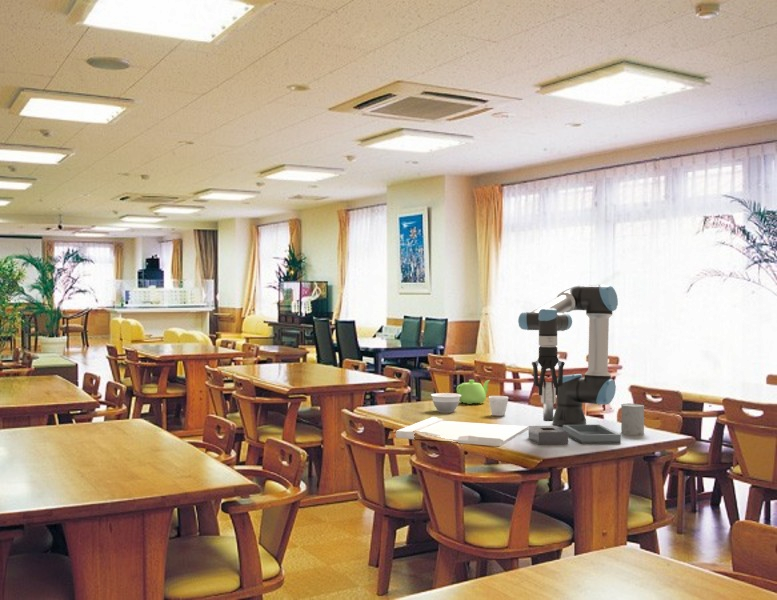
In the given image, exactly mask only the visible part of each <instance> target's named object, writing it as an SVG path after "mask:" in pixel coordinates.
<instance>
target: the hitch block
mask: <svg viewBox="0 0 777 600" xmlns="http://www.w3.org/2000/svg"><path fill="white" fill-rule="evenodd" d="M528 439H530V440H531V441H532V442H533V443H535V444H537V445H538V446H550V445H551V446H554V445H555V446H557V445H558V446H560V445H569V436H568V432H567V431H565V430H564V429H563V427H560V426H559V425H528Z"/></svg>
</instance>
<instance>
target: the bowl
mask: <svg viewBox="0 0 777 600" xmlns="http://www.w3.org/2000/svg"><path fill="white" fill-rule="evenodd" d="M430 396H431V398H432V402H433V405H434V407H435V409H436V410H437V412H438V413H445V414H447V413H448V414H449V413H454V412H455V410H456V409H457V407H458V406H459V404H460V401H459V398H460V397H461V395H460V394H458V393H453V392H451V393H450V392H449V393H448V392H445V393H444V392H441V393H440V392H436V393H431V394H430Z"/></svg>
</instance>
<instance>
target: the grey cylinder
mask: <svg viewBox="0 0 777 600" xmlns="http://www.w3.org/2000/svg"><path fill="white" fill-rule="evenodd" d="M620 406H621V407H620V408H621V423H620V424H621V426H620V427H621V431H620V432H621V434H622V435H626V436H643V434H644V435H645V405H644V404H640V403H622V404H620Z"/></svg>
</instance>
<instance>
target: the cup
mask: <svg viewBox="0 0 777 600" xmlns="http://www.w3.org/2000/svg"><path fill="white" fill-rule="evenodd" d="M488 401H489V407H490V411H491V415H492V416H493V417H504V416H506V410H507V408H508V407H507V406H508V401H509V396H507V395H506V396H504V395H489V396H488Z"/></svg>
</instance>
